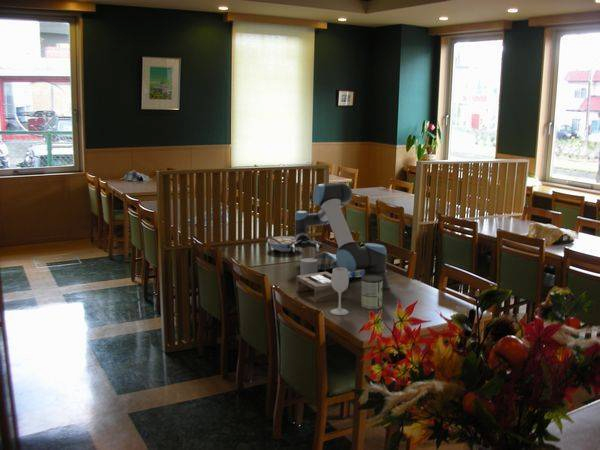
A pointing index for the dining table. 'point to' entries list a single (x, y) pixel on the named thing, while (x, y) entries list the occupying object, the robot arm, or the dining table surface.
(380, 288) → the coffee can
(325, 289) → the shelf
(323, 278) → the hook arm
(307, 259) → the gray cylinder
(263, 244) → the dining table surface
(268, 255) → the dining table surface
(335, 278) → the wineglass
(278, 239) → the ramen bowl
